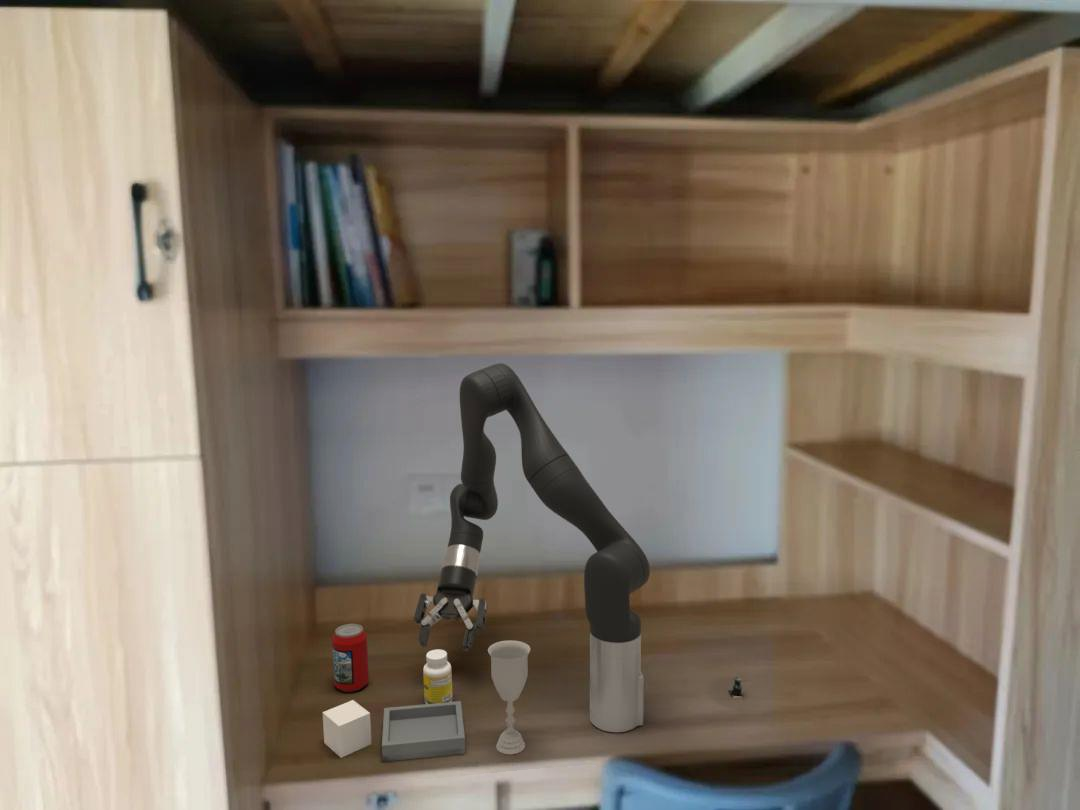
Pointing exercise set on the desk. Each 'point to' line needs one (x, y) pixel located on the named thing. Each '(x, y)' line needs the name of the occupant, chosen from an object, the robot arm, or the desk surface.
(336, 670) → the beverage can
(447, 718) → the tray
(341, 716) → the white cube
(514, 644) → the chalice
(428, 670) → the supplement bottle
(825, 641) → the desk surface
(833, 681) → the desk surface
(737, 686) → the sculpture
